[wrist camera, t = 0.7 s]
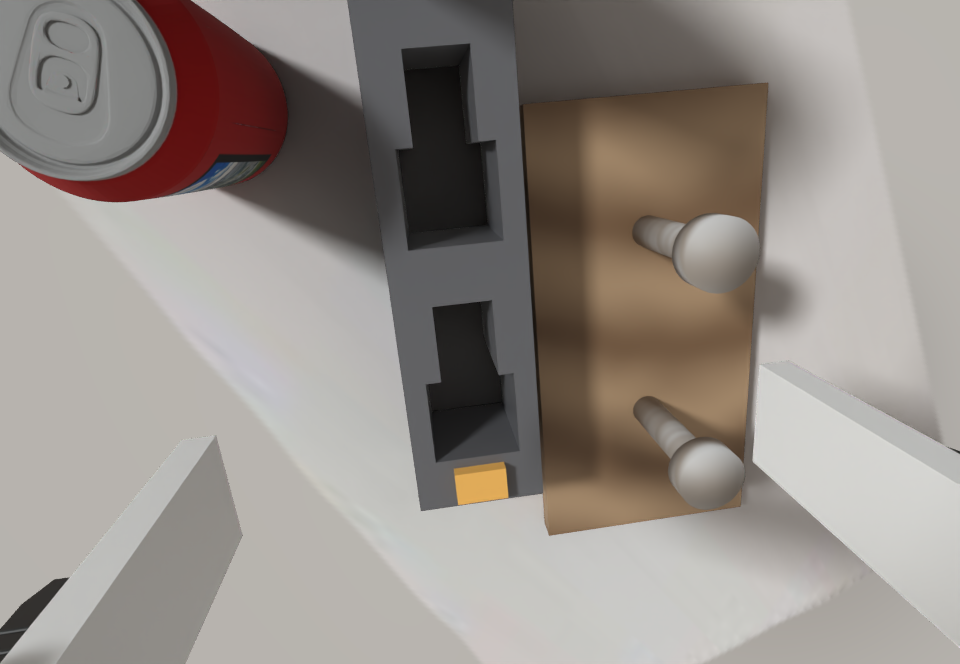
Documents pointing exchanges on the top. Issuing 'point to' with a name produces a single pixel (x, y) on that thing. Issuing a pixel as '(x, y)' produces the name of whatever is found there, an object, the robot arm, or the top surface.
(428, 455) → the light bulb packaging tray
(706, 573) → the top surface
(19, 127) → the beverage can
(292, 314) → the top surface
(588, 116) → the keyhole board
